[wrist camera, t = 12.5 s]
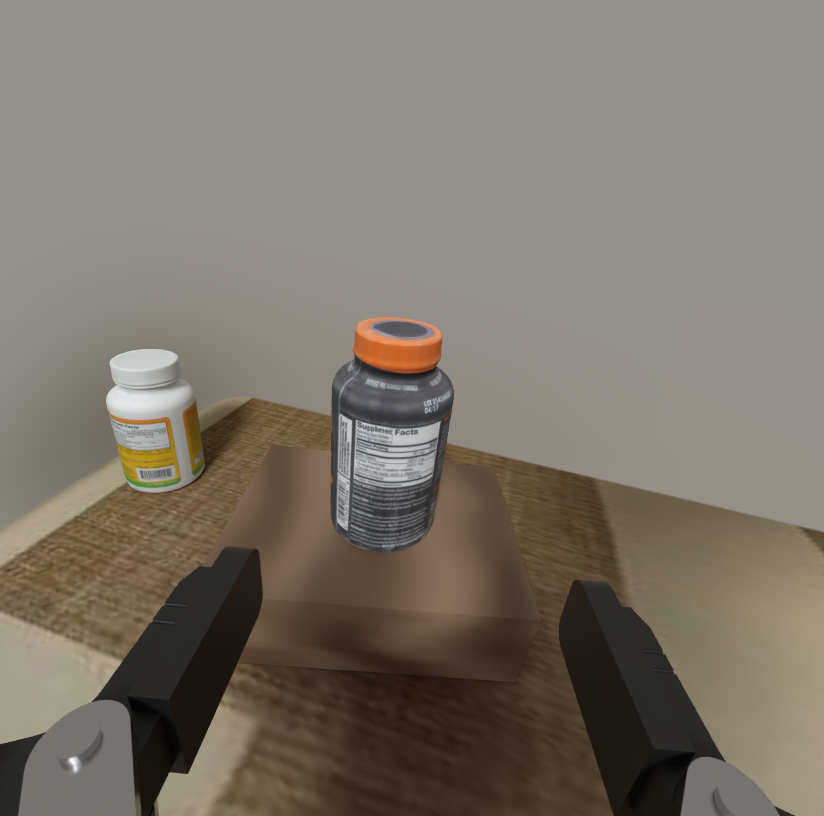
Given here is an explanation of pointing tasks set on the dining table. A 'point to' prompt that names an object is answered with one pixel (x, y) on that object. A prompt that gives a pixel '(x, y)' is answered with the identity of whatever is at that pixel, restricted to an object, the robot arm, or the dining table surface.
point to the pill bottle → (389, 434)
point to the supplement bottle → (154, 421)
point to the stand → (384, 579)
